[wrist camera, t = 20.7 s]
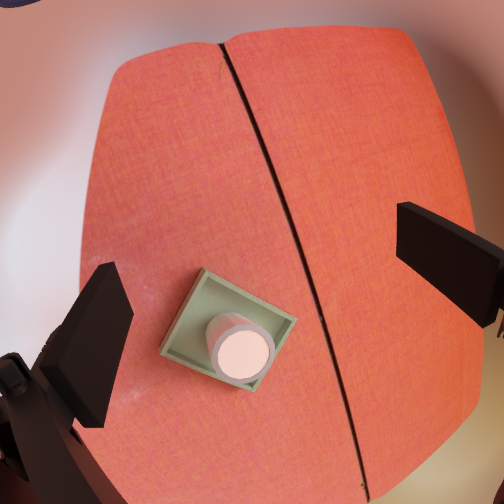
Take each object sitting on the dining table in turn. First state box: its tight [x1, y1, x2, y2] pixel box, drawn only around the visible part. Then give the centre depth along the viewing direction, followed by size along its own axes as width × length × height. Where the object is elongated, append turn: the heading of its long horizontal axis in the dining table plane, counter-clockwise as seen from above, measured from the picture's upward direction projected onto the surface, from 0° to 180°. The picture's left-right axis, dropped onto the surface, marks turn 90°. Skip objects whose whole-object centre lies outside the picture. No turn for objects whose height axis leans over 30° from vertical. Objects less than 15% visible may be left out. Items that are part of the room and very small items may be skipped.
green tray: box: [159, 268, 297, 393], centre depth 37 cm, size 13×11×2 cm
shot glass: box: [205, 312, 275, 384], centre depth 34 cm, size 7×7×7 cm
